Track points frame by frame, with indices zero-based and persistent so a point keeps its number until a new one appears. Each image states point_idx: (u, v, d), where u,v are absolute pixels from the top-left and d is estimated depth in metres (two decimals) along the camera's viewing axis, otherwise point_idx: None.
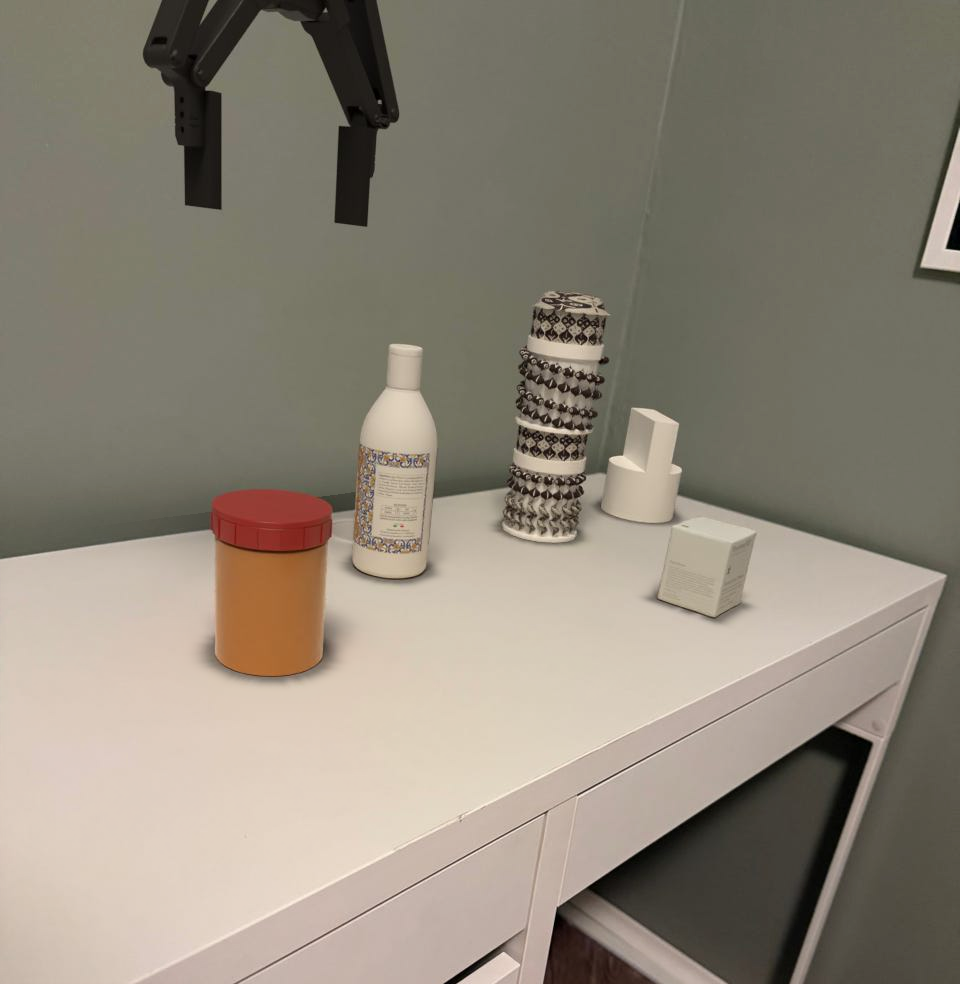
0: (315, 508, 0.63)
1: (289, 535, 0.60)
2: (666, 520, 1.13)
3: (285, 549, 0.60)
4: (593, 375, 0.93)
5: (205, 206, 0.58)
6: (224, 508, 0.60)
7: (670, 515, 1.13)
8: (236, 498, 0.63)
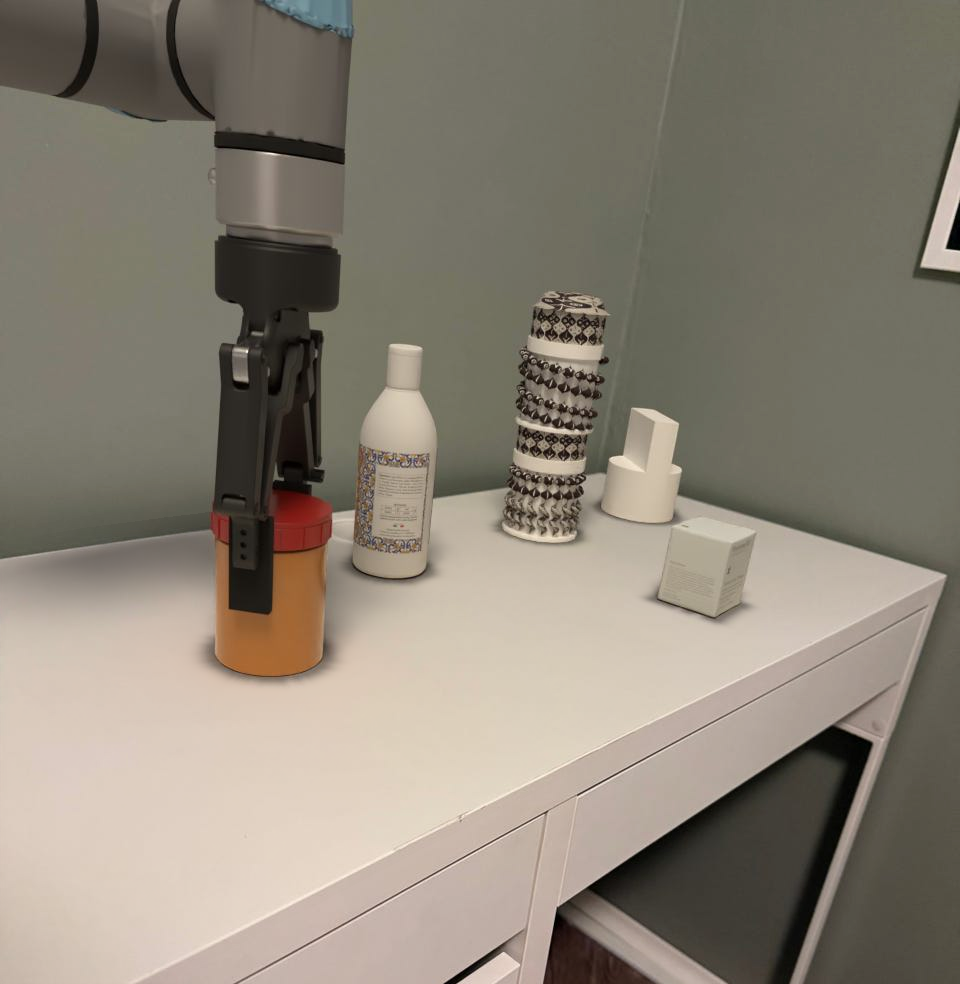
0: (315, 508, 0.63)
1: (289, 535, 0.60)
2: (666, 520, 1.13)
3: (285, 549, 0.60)
4: (593, 375, 0.93)
5: None
6: None
7: (670, 515, 1.13)
8: None
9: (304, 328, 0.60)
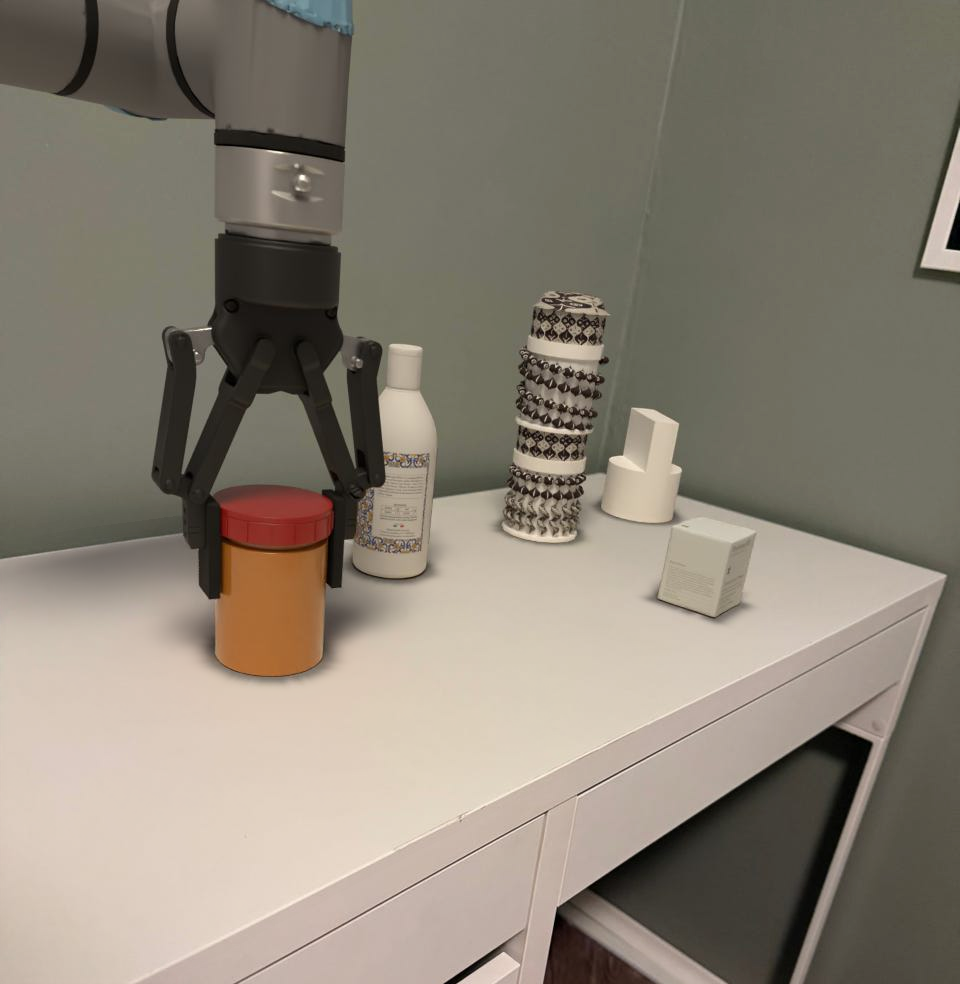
0: (252, 489, 0.64)
1: None
2: (666, 520, 1.13)
3: None
4: (593, 375, 0.93)
5: (206, 594, 0.62)
6: (318, 509, 0.61)
7: (670, 515, 1.13)
8: (279, 512, 0.60)
9: None
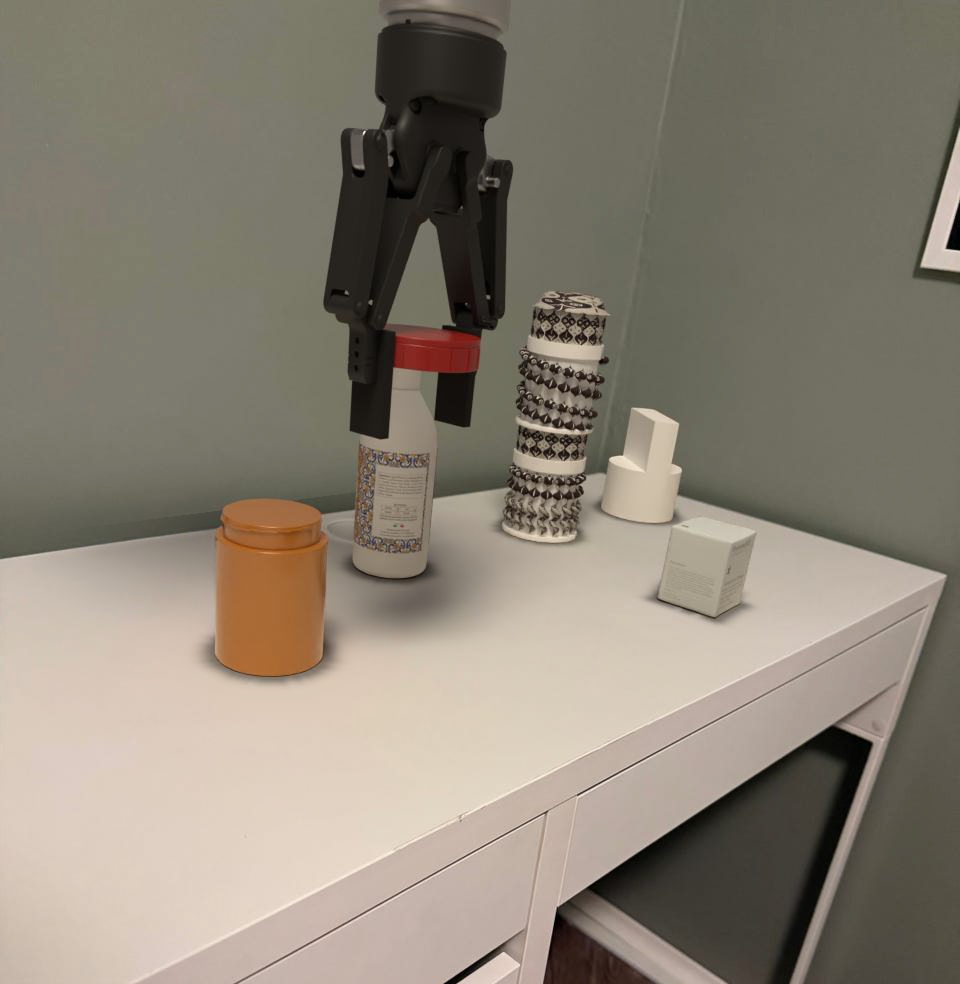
0: None
1: None
2: (666, 520, 1.13)
3: None
4: (593, 375, 0.93)
5: (373, 436, 0.58)
6: (471, 337, 0.60)
7: (670, 515, 1.13)
8: (447, 338, 0.58)
9: None
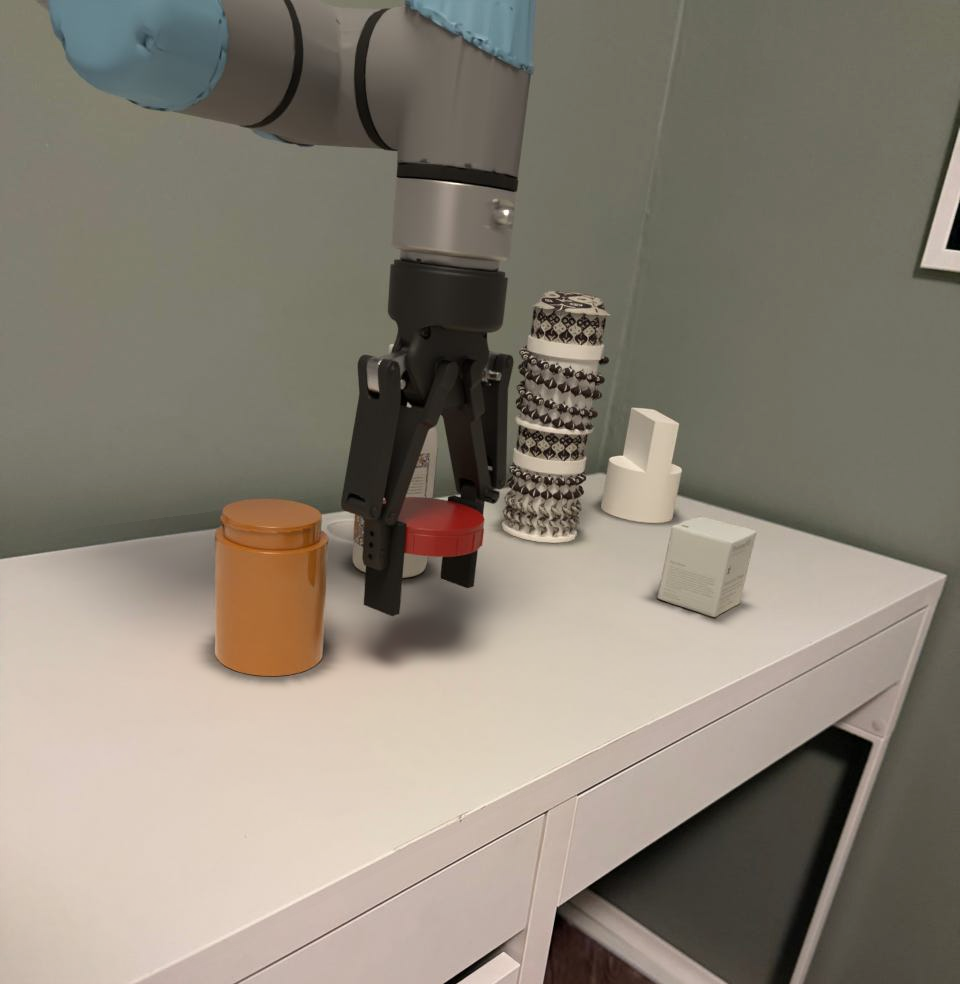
0: None
1: None
2: (666, 520, 1.13)
3: None
4: (593, 375, 0.93)
5: (385, 612, 0.63)
6: (475, 516, 0.65)
7: (670, 515, 1.13)
8: (454, 523, 0.63)
9: None
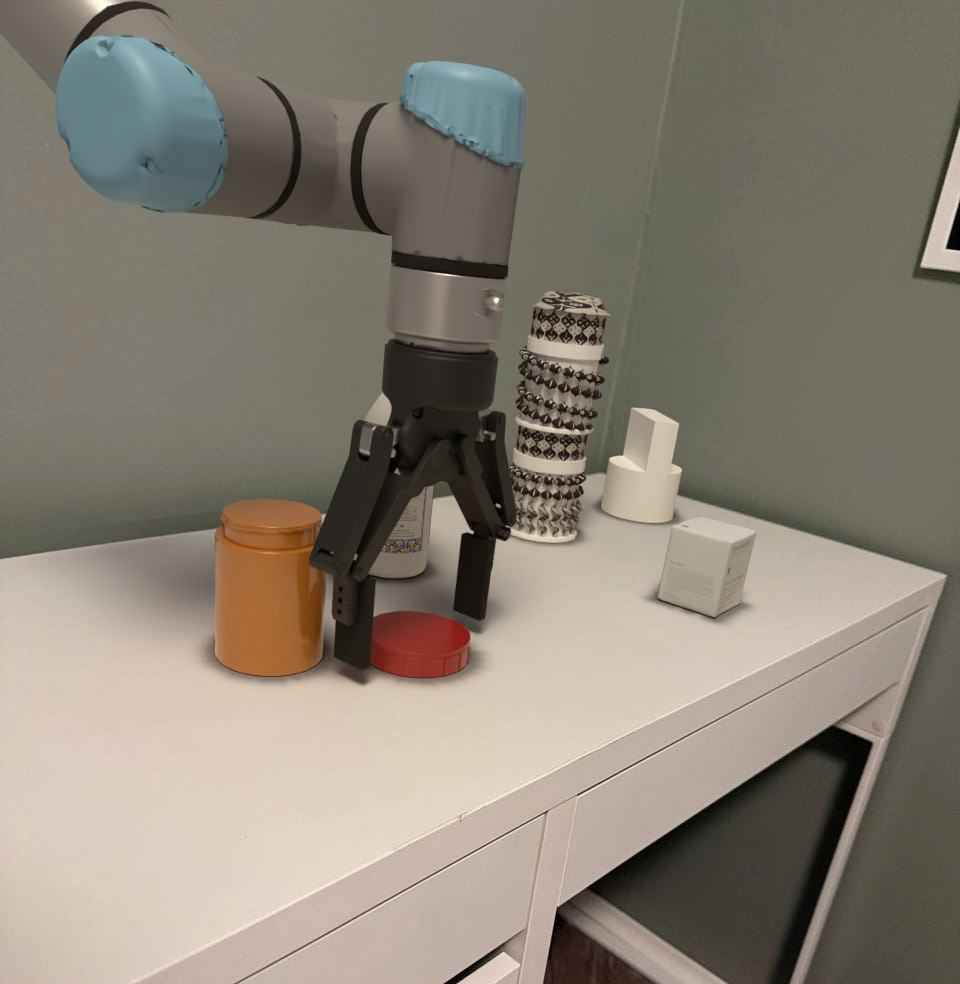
0: (384, 621, 0.70)
1: None
2: (666, 520, 1.13)
3: None
4: (593, 375, 0.93)
5: (355, 666, 0.63)
6: (462, 634, 0.69)
7: (670, 515, 1.13)
8: (441, 644, 0.67)
9: None
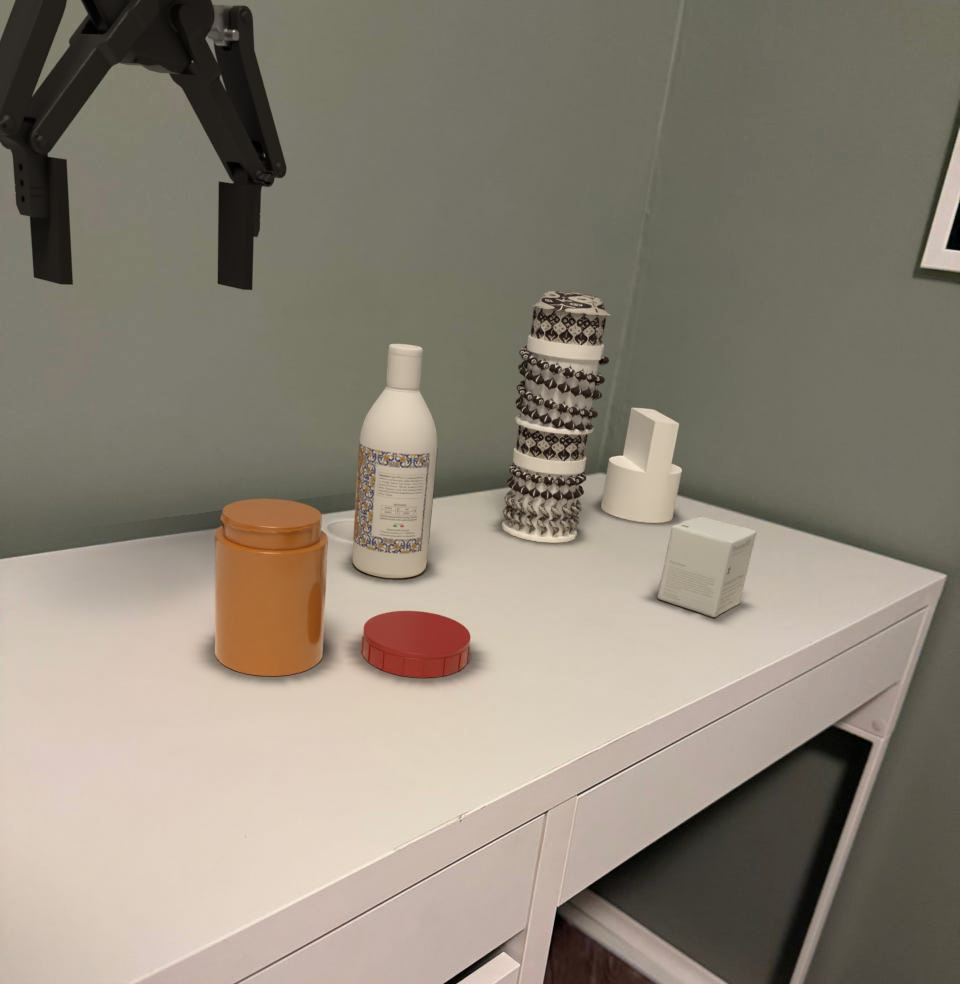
0: (384, 621, 0.70)
1: None
2: (666, 520, 1.13)
3: None
4: (593, 375, 0.93)
5: (54, 281, 0.53)
6: (462, 634, 0.69)
7: (670, 515, 1.13)
8: (441, 644, 0.67)
9: None
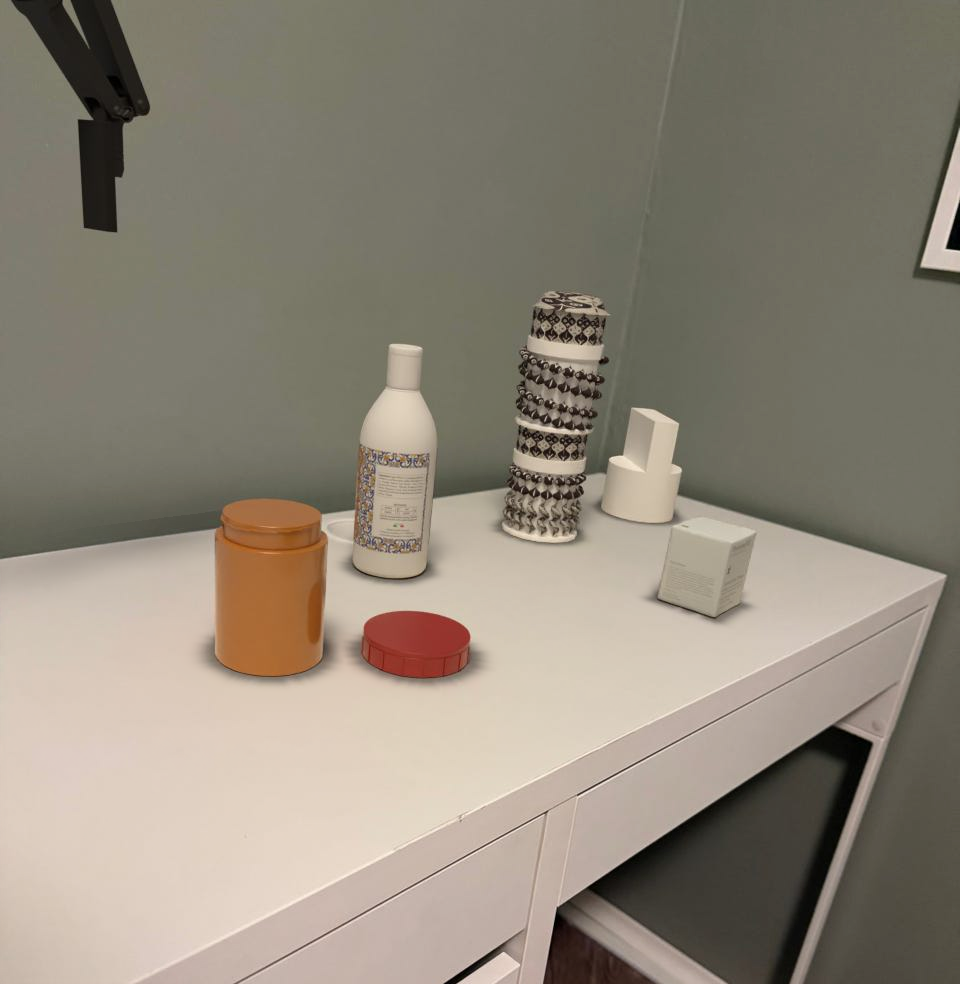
0: (384, 621, 0.70)
1: None
2: (666, 520, 1.13)
3: None
4: (593, 375, 0.93)
5: None
6: (462, 634, 0.69)
7: (670, 515, 1.13)
8: (441, 644, 0.67)
9: None
